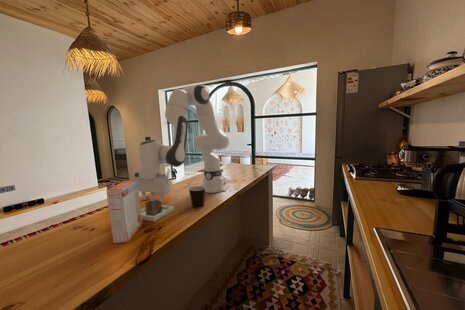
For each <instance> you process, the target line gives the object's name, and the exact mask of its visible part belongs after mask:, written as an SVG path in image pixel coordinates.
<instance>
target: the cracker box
mask: <svg viewBox="0 0 465 310" xmlns="http://www.w3.org/2000/svg"><path fill="white" fill-rule="evenodd" d="M106 197H107V206H108V213H109V219H110V228H111V235H112V243H113V244H123V243H129V242H130V241H131V239H132V238H133V237H134V236H135V235H136V233H137V232H138V231H139V230H140V229H141V227H142V226H143V220H142V217H141V208H142V207H141V199H140V191H139V188H138V180H134V179H133V180H132V179H131V180H130V179H128V180H126V179H125V180H124V181H122V182H120V183H118V184H115V185H114V186H112V187H110V188H108V189H106Z"/></svg>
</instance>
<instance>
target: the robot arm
mask: <svg viewBox="0 0 465 310" xmlns="http://www.w3.org/2000/svg"><path fill="white" fill-rule="evenodd" d="M210 94H211V93H210V90H209V89H208V87H207V86H206V85H204V84H196V85H194V84H193V85H189V86H185V87H181V88H176V89H173V91H172V92H171V94H170V95H169V98H168V100H167V104H166V107H165V110H164V117H165V120H166V121H167V123H169V124H171V125H173V126H174V137H173V143H172V145H165V144H162V143H160V142H158V141H157V140H156V139H150V140H144V141H142V142H140V145H139V149H138V152H139V153H138V155H139V161H140V170H138V171H137V172H133V180H138V188H139V192H140V194H141V195H142V197H143V200H146V201H147V200H149V195H148V194H147V193H151V192H152V193H155V194H158V195H159V197H158V198H157V200H158V202H163V201H164V199H163V198H164V196H165V194H168V193H170V192H171V185H170V184H171V183H170V181H169V177H168V175H166V174H165V173H163V174H162V173H161V165H167V166H172V167H177V168H178V167H180V166H182V165H183V164H184V163H185V161H186V158H187V151H186V149H187V147H186V146H187V137H188V129H189V123H188V118H187V113H188V109H189V107H190V106H192V107H193V106H194V107H195V112H196V117H197V120H198V126H199V128H200V129H201V130H203V131H204V132H205V133H202V134H198V135H196V136H195V138H194V141H193V142H194V146H195V148H197V150H198V151H199V152H200V153H201V156H202V158H203V166H204V170H203V176H204V177H203V178H202V186H203V187H205V193H214V194H215V193H220V192H226V191H227V190H228V189H229V188H230V186H231V184H230V183H228V182H227V177H226V176H224V174H223V173H224V168H221V158H220V156H218V155H217V154H216V153H215V151H220V150H221V151H222V150H226V149H227V148H228V147H229V145H230V140H229V137H228V135H227V134H225V133H224V132H223V131H222V130H221V129H220V128H219V125H218V124H217V121H216V116H215V112H214V107H213V103H212V101H211V97H210V96H211V95H210Z"/></svg>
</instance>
